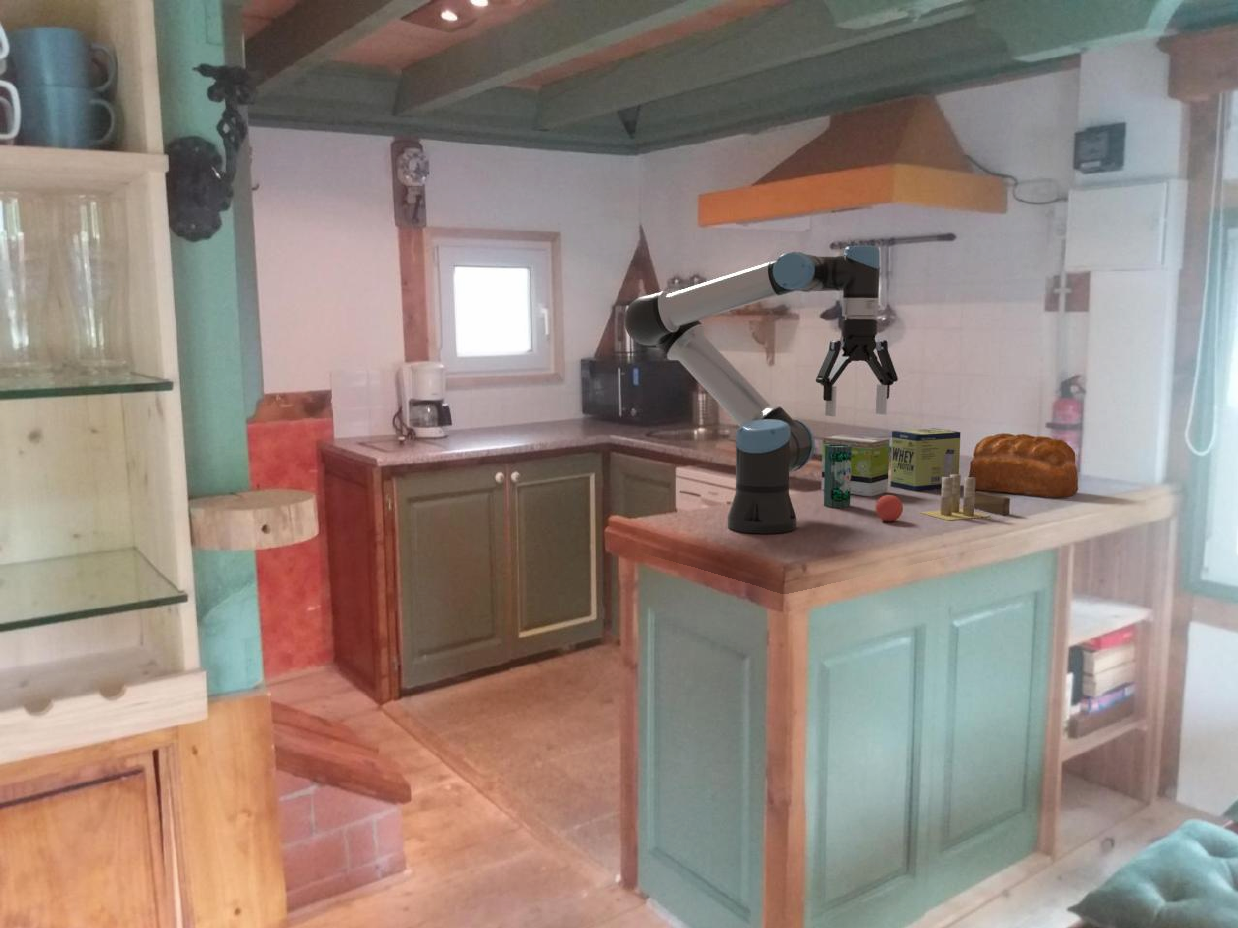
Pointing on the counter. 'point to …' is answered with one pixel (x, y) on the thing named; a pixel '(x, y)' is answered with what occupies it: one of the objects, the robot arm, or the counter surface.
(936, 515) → the plate
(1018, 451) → the bread
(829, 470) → the can
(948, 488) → the pin front
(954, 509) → the pin rear left
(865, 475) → the tea box
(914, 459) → the protein box
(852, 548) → the counter surface
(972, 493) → the pin rear right
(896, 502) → the ball
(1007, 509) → the back rail
